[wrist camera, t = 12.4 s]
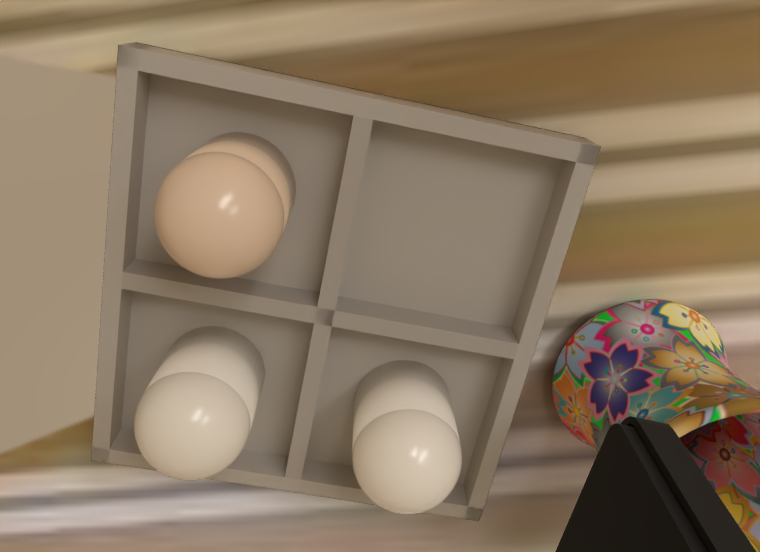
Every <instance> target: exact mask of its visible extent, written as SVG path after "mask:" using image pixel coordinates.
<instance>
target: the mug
mask: <svg viewBox="0 0 760 552" xmlns="http://www.w3.org/2000/svg"><path fill="white" fill-rule="evenodd" d="M552 392H553V400H554V404H555V407H556V410H557V413H558V415H559V417H560V419H561V420H562V422H563V423H564V425H565V426H566V427H567V428H568V429H569V430H570V431H571V432H572V433H573V434H574V435H575V436H576V437H577V438H579V439H580V440H581V441H583V442H584V443H586V444H588V445H590V446H592V447H594V448H596V450H597V451H598V452H599V450H600V448H601V445H602V443H603V441H604V438H605V436H606V434H607V432H608V430H609V428H610V427H611V426H612V425H613V424H615V423H618V424H621V422H622V421H623V420H624V419H625V418H627V417H629V416H632V417H637V418H642V419H647V420H652V421H657V422H662V423H666V424H669V425H670V426H671V427H672V428H673V429H674V431H675V432H676V434H677V435H678V437H679V438H680V440H681V441H682V443H683V444H684V446H685V447H686V449H687V450H688V452H689V453H690V455H691V456H692V457H693V459H694V460H695V462H696V463H697V465H698V466H699V468H700V469H701V471H702V472H703V474H704V475H705V477H706V478H707V480H708V481H709V483H710V484H711V485H712V487H713V488H714V490H715V491H716V493H717V494H718V496H719V497H720V499H721V500H722V502H723V503H724V505H725V506H726V508H727V509H728V511H729V512H730V513H731V515H732V516H733V518H734V519H735V521H736V522H737V524H738V525H739V527H740V528H741V530H742V531H743V533H744V534H745V536H746V537H747V539H748V540H749V541H750V543H751V544H752V546H753V547H754V549H755V550H756V552H760V391H758V390H756V389H754V388H752V387H751V386H749V385H747V384H746V383H745V382H743V381H742V380H741V379H739V378H738V377H737V376H736V375H735V374H734V373H733V372H732V371H731V369H730V368H729V366H728V362H727V355H726V350H725V347H724V344H723V342H722V340H721V338H720V336H719V334H718V332H717V331H716V329H715V328H714V327H713V325H712V324H711V323H710V322H709V321H708V320H707V319H706V318H705V317H703V316H702V315H701V314H699V313H698V312H696V311H694V310H693V309H691V308H688V307H686V306H684V305H681V304H678V303H675V302H671V301H666V300H656V299H646V300H636V301H630V302H626V303H622V304H619V305H616V306H614V307H611V308H609V309H607V310H605V311H603V312H601V313H599V314H597V315H596V316H594V317H593V318H591V319H590V320H588V321H587V322H586V323H584V324H583V325H582V326H581V327H580V328H579V329H578V330H577V331H576V332H575V333H574V334H573V335H572V336H571V338H570V339H569V340H568V342H567V343H566V344H565V346H564V348H563V349H562V351H561V353H560V355H559V357H558V360H557V362H556V365H555V369H554V373H553V379H552Z"/></svg>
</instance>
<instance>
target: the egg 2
mask: <svg viewBox="0 0 760 552" xmlns="http://www.w3.org/2000/svg"><path fill="white" fill-rule="evenodd" d="M352 463H353V469H354V473H355V476H356V479H357V481H358V483H359V485H360V487H361V489H362V490H363V492H364V493H365V494H366V495H367V496H368V497H369V498H370V499H371V500H372V501H373V502H374V503H375V504H377V505H378V506H380V507H382V508H383V509H385V510H388V511H390V512H393V513H398V514H417V513H422V512H425V511H428V510H430V509H432V508H434V507H435V506H437V505H438V504H440V503H441V502H442V501H443V500H445V499H446V498H447V497H448V495H449V494H450V493H451V491H452V490H453V488H454V487H455V485H456V483H457V480H458V478H459V475H460V471H461V466H462V451H461V445H460V440H459V435H458V431H457V426H456V422H455V417H454V412H453V408H452V403H451V398H450V394H449V390H448V387H447V385H446V383H445V381H444V380H443V378H442V377H441V376H440V375H439V374H438V373H437V372H436V371H435V370H434V369H432V368H431V367H429V366H427V365H425V364H422V363H420V362H416V361H411V360H395V361H390V362H386V363H384V364H381V365H379V366H377V367H375V368H374V369H372V370H371V371H370V372H369V373H367V374H366V375H365V376H364V378H363V379H362V380H361V382H360V383H359V385H358V387H357V389H356V392H355V397H354V417H353V446H352Z"/></svg>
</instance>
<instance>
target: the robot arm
mask: <svg viewBox="0 0 760 552" xmlns="http://www.w3.org/2000/svg"><path fill="white" fill-rule="evenodd" d="M556 552H756V550H755V549H754V547H753V546H752V544H751V543H750V541H749V540H748V539H747V537H746V536H745V534H744V533H743V531H742V530H741V528H740V527H739V525H738V524H737V522H736V521H735V519H734V518H733V516H732V515H731V513H730V512H729V511H728V509H727V508H726V506H725V505H724V503H723V502H722V500H721V499H720V497H719V496H718V494H717V493H716V491H715V490H714V488H713V487H712V485H711V484H710V483H709V481H708V480H707V478H706V477H705V475H704V474H703V472H702V471H701V469H700V468H699V466H698V465H697V463H696V462H695V460H694V459H693V457H692V456H691V455H690V453H689V452H688V450H687V449H686V447H685V446H684V444H683V443H682V441H681V440H680V438H679V437H678V435H677V434H676V432H675V431H674V429H673V428H672V427H671V426H670V425H669V424H666V423H662V422H657V421H652V420H647V419H642V418H637V417H632V416H629V417H627V418H625V419H624V420H623V421H622V422H621V424H618V423H615V424H613V425H612V426H611V427H610V428H609V430H608V432H607V434H606V436H605V438H604V441H603V443H602V445H601V448H600V450H599V452H598V455H597V457H596V459H595V462H594V464H593V466H592V469H591V471H590V473H589V475H588V478H587V480H586V482H585V485H584V487H583V489H582V492H581V494H580V496H579V499H578V501H577V503H576V506H575V508H574V510H573V513H572V515H571V517H570V519H569V522H568V524H567V526H566V529H565V531H564V533H563V536H562V538H561V540H560V543H559V545H558V547H557V550H556Z"/></svg>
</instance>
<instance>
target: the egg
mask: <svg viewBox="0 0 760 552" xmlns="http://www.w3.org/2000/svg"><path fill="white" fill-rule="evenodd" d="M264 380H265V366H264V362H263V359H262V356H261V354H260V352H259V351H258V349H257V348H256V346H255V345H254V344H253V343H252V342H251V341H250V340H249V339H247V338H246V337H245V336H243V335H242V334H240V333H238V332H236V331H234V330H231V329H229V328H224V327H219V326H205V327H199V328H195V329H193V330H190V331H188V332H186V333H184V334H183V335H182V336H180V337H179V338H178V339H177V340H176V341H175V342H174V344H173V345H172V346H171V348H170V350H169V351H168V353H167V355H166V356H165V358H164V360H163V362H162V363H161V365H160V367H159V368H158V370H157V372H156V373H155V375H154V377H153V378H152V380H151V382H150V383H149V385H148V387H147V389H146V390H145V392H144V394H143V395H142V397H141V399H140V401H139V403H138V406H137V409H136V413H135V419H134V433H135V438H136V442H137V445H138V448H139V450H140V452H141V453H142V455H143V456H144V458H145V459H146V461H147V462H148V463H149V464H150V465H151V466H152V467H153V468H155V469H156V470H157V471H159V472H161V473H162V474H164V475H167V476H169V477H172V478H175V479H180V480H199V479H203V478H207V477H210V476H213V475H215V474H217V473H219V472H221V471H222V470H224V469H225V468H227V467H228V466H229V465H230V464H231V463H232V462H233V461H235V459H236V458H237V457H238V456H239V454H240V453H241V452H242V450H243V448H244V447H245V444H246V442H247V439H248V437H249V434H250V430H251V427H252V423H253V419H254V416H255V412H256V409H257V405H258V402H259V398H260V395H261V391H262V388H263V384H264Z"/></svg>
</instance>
